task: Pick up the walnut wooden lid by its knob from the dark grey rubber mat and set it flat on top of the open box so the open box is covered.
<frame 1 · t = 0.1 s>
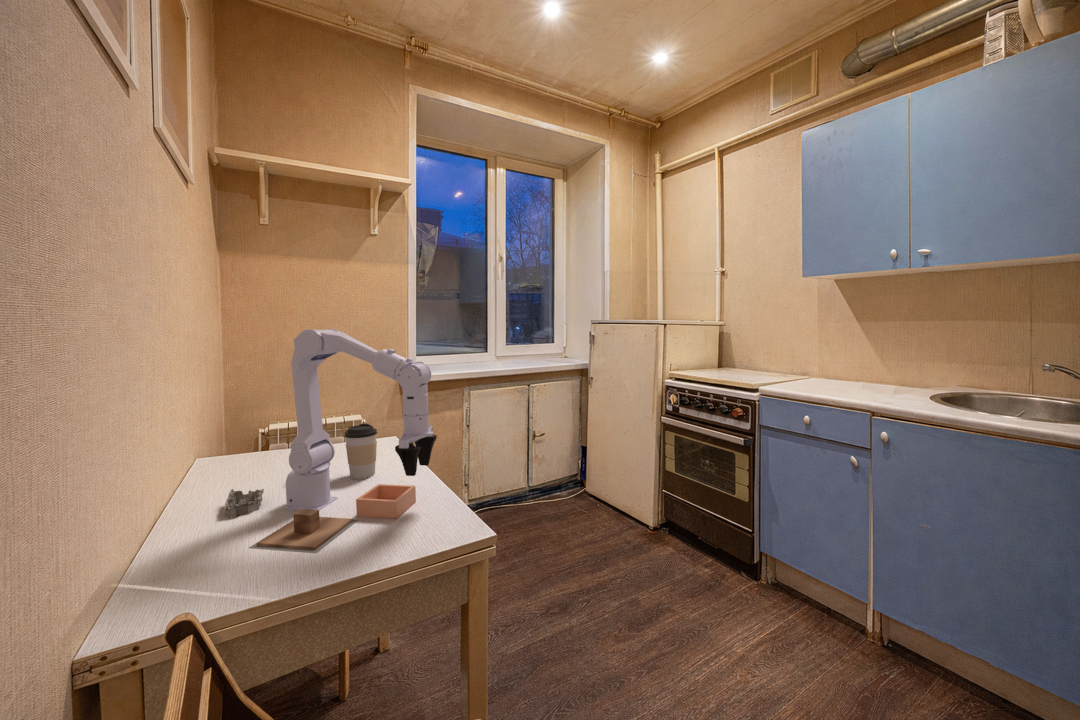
hand: (417, 470, 106), 10 cm above the table, tool pointing down, fingers open, 7 cm apart
lid: (307, 532, 95), resting on mat
mat: (307, 534, 95), on the table
smoothie: (321, 476, 133), on the table
coffee cup: (362, 475, 133), on the table
open box: (387, 510, 107), on the table
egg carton: (245, 509, 110), on the table
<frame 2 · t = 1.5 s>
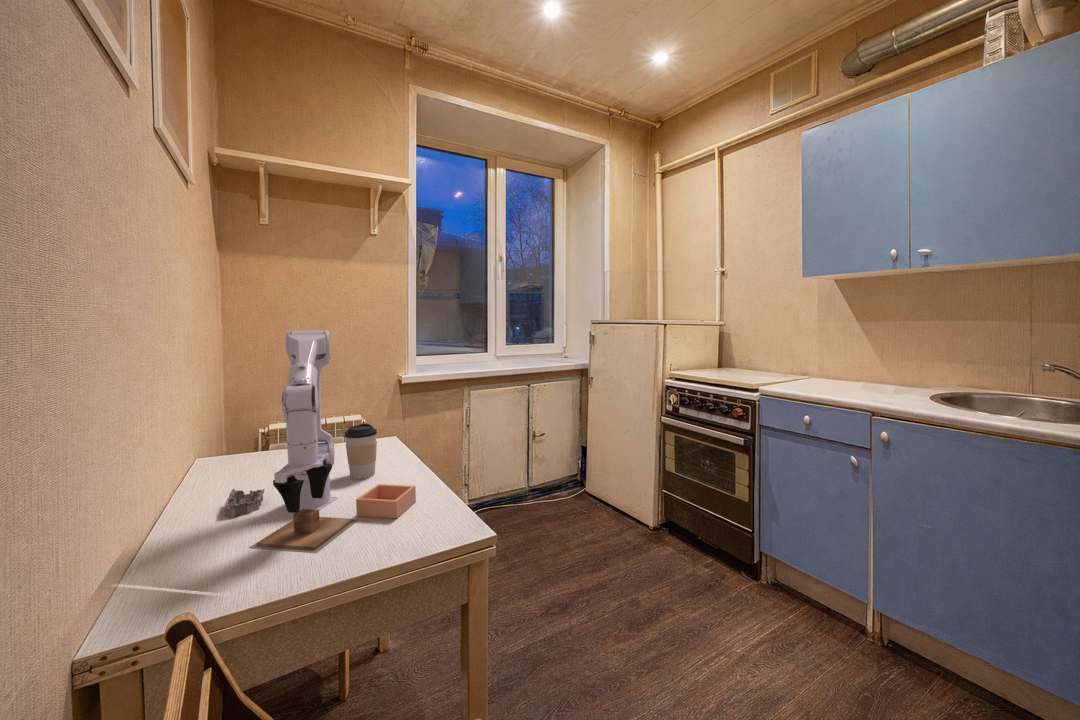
hand: (305, 504, 94), 7 cm above the table, tool pointing down, fingers open, 7 cm apart
nothing on the table moved.
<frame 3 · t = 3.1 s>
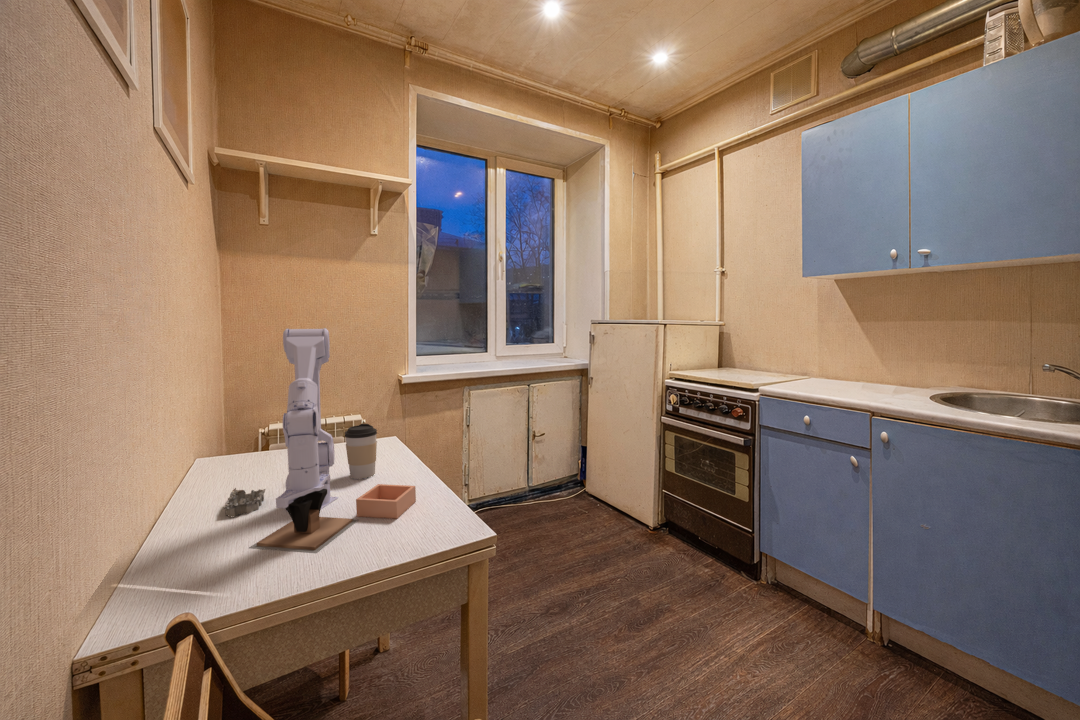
hand: (307, 527, 95), 2 cm above the table, tool pointing down, fingers closed on lid, 3 cm apart
lid: (307, 532, 95), resting on mat, touching gripper
everything else where it was.
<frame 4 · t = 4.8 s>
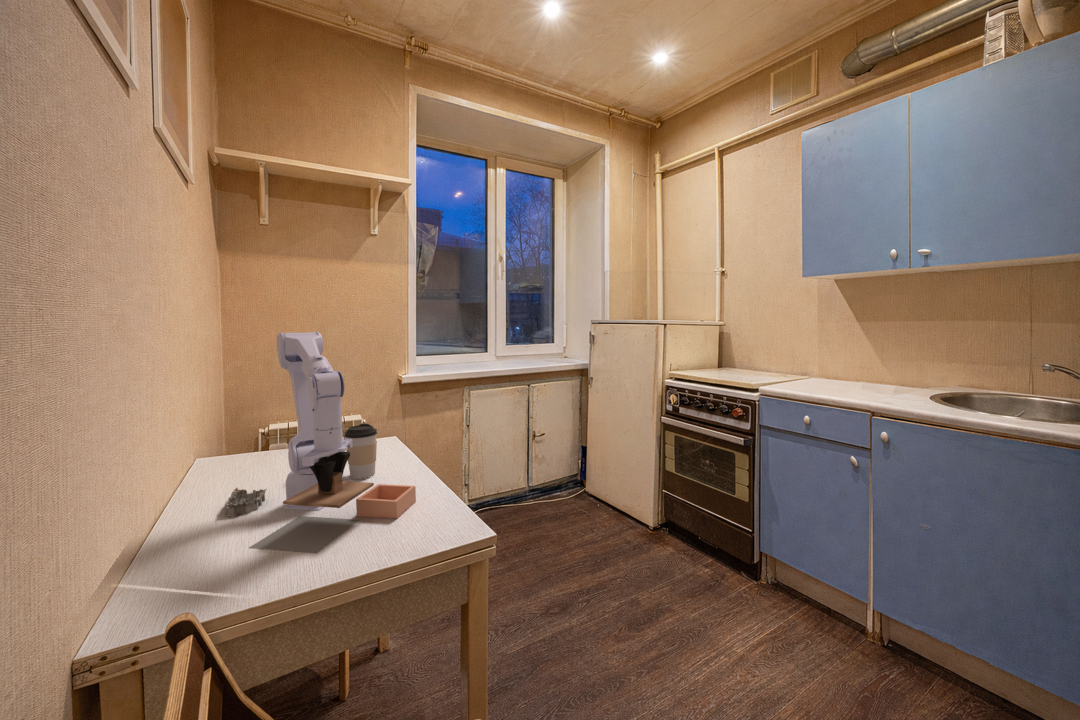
hand: (330, 488, 98), 9 cm above the table, tool pointing down, fingers closed on lid, 3 cm apart
lid: (330, 494, 98), point 7 cm above the table, touching gripper
everything else where it was.
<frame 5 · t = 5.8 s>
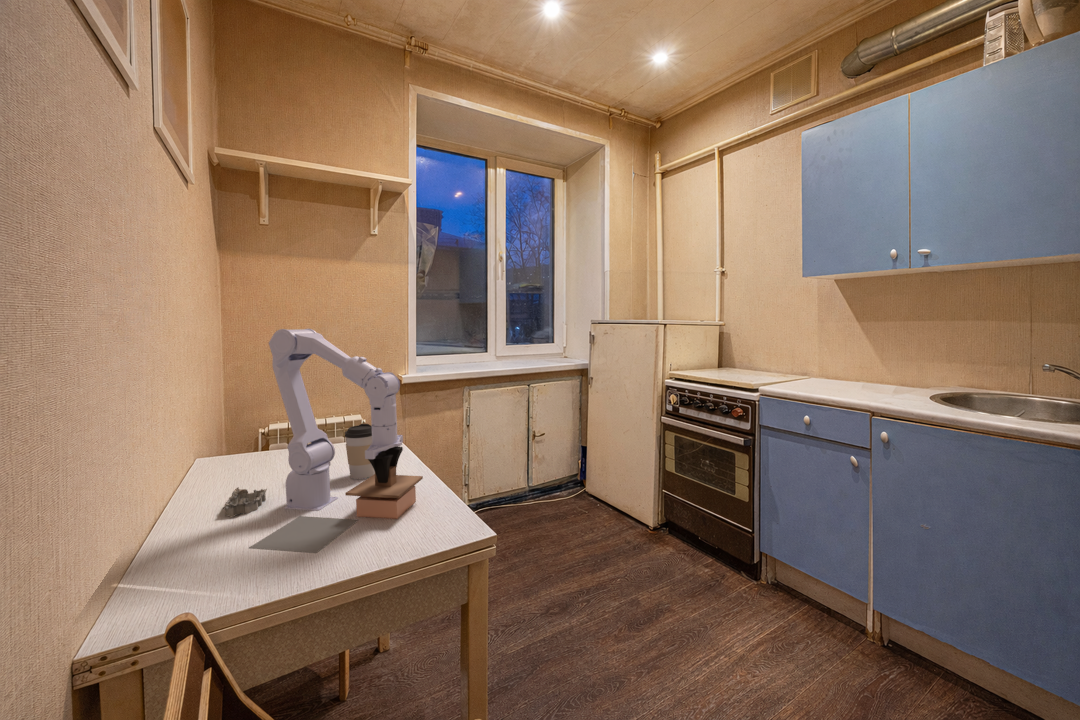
hand: (386, 479, 107), 8 cm above the table, tool pointing down, fingers closed on lid, 3 cm apart
lid: (386, 486, 107), point 6 cm above the table, touching gripper
everything else where it was.
when the fingers open (7 cm above the table, at t = 6.6 s): lid stays where it is, resting on open box.
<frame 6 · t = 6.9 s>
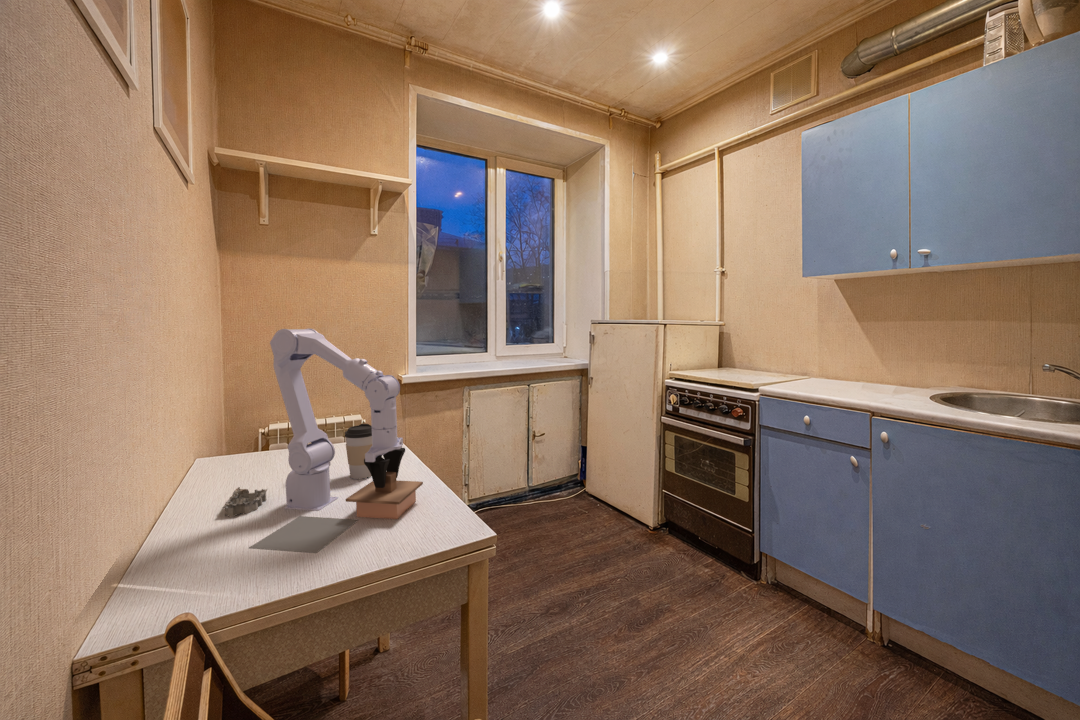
hand: (386, 482, 107), 7 cm above the table, tool pointing down, fingers open, 6 cm apart
lid: (386, 492, 107), point 4 cm above the table, touching open box
open box: (387, 510, 107), on the table, touching lid
everything else where it was.
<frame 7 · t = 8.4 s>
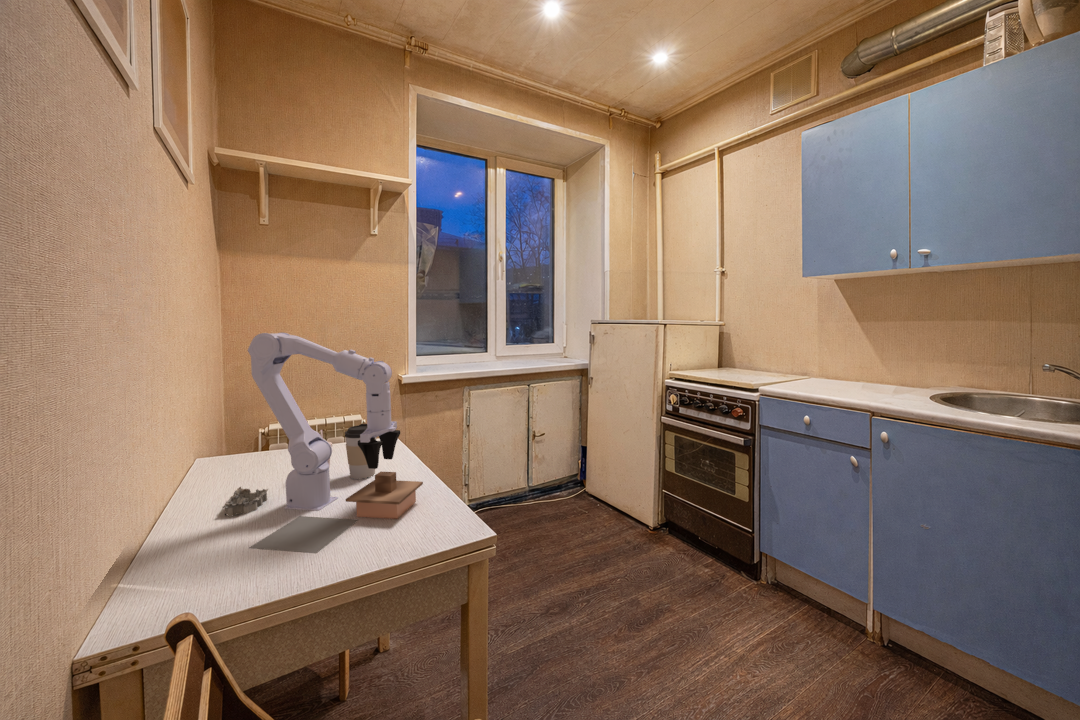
hand: (380, 463, 112), 10 cm above the table, tool pointing down, fingers open, 7 cm apart
nothing on the table moved.
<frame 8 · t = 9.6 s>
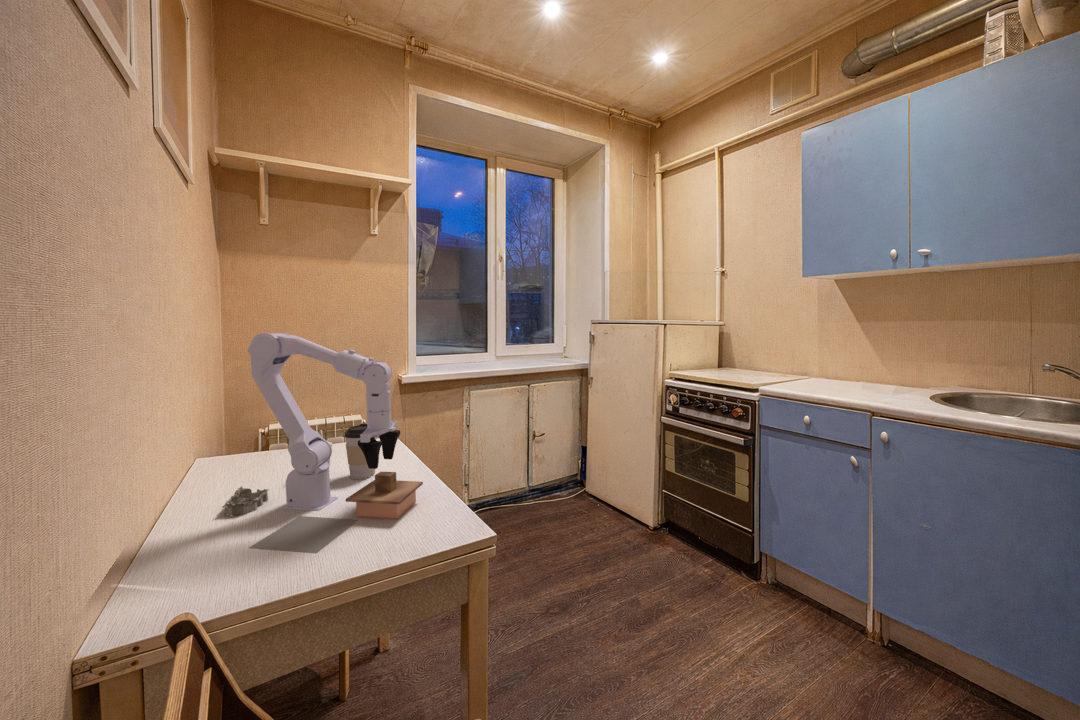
hand: (380, 463, 112), 10 cm above the table, tool pointing down, fingers open, 7 cm apart
nothing on the table moved.
at the end: lid 0.2 cm off-centre on the open box, point 4.5 cm above the open box's base; lid tilted 0°; the gripper is holding nothing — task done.
